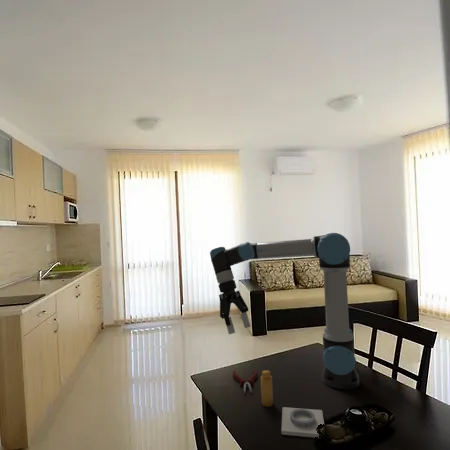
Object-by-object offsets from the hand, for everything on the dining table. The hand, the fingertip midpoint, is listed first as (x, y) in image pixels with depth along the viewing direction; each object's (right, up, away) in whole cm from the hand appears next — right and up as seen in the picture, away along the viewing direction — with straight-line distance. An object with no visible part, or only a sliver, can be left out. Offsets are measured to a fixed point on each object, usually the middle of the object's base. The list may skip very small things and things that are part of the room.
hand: (240, 330), depth 134 cm
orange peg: (+10, -24, -12) cm, 29 cm away
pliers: (+1, -26, +6) cm, 27 cm away
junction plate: (+20, -24, -25) cm, 40 cm away
